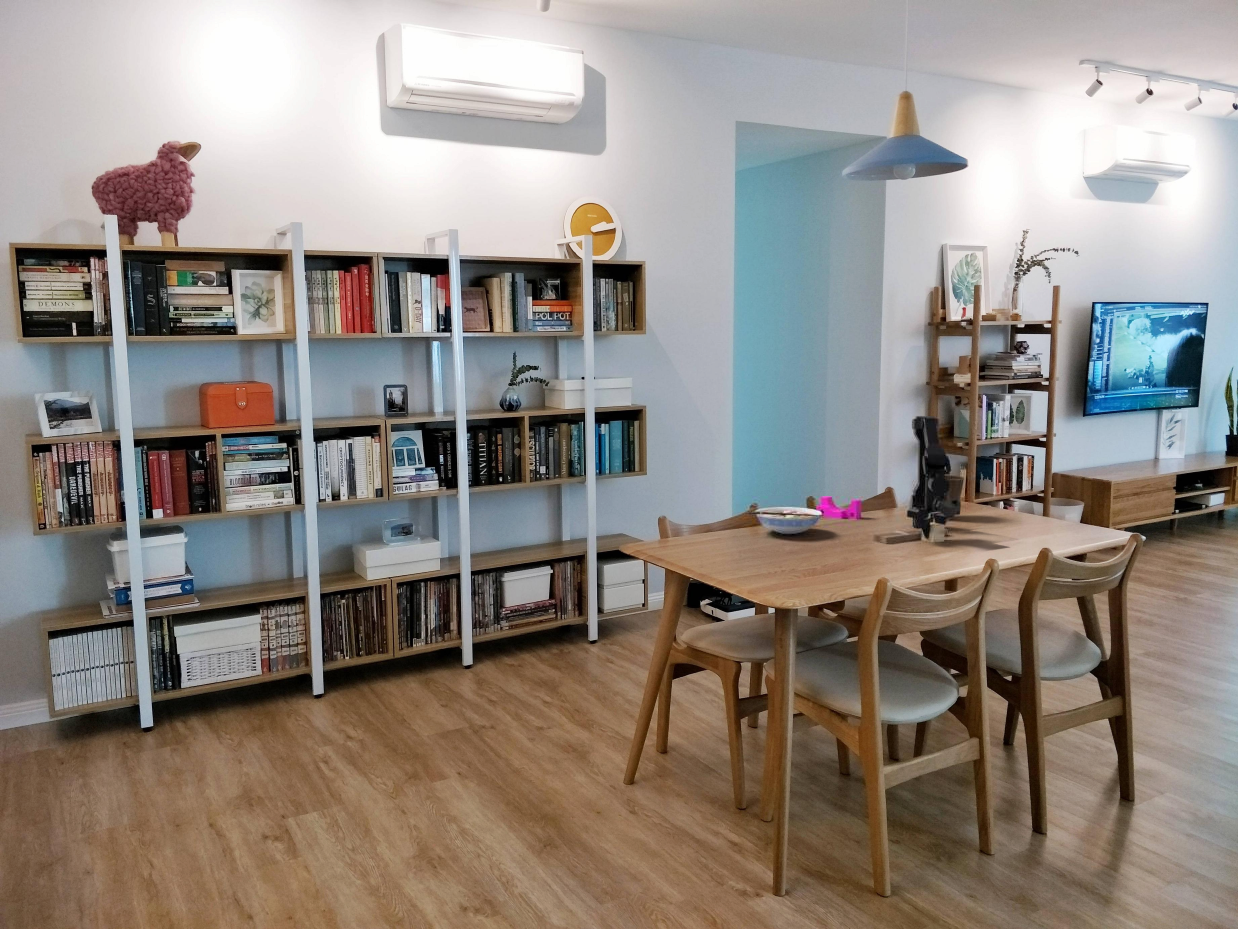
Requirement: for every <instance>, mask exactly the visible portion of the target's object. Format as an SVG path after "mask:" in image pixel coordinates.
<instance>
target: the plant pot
mask: <svg viewBox="0 0 1238 929" xmlns="http://www.w3.org/2000/svg"><path fill="white" fill-rule="evenodd" d="M945 479H947V480H948V482H949V485H950V488H949V490H948V492H947V493H946V495H947V500H949V501H953V500H959V501H960V499H961V495H962V492H963V488H964V487H963V486H964V482H965V477H963V476H959V475H945ZM951 516H953V515H951ZM953 519H954V516H953V518H950V519H949V520H948V521H952V520H953ZM933 520H934V514H933Z"/></svg>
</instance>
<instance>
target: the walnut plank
mask: <svg viewBox="0 0 1238 929" xmlns="http://www.w3.org/2000/svg"><path fill="white" fill-rule="evenodd" d="M919 532H922V529H915V528H913V529H907V530H899V531H897V530H895V531H893V532H892V531H891V532H883V533H876V534H873V535H872V541H873V542H877V543H881V544H884V545H885V544H886V545H887V544H894V543H903V542H910V541H915V540H919ZM948 532H949V530H948V529H946V528H945V532H944V537H946V536H945V535H947V536H948V534H949V533H948Z"/></svg>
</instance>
